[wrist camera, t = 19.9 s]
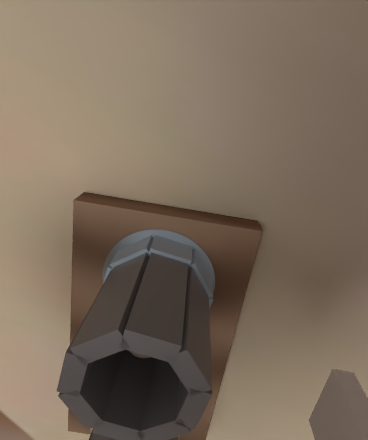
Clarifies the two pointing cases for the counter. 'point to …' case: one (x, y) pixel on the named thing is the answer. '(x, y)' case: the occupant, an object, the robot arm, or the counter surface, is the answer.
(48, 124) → the counter surface
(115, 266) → the grey octagonal sleeve
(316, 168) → the counter surface
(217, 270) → the pin board
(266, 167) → the counter surface
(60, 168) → the counter surface
